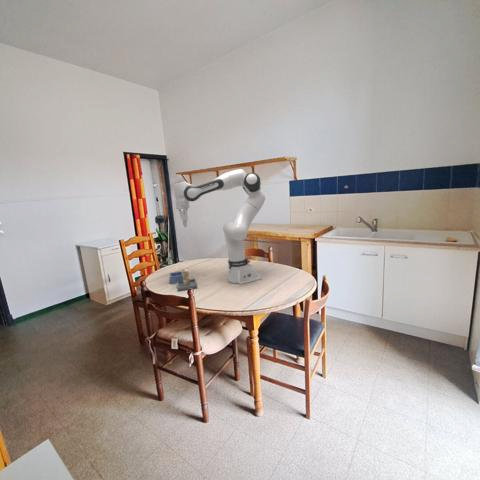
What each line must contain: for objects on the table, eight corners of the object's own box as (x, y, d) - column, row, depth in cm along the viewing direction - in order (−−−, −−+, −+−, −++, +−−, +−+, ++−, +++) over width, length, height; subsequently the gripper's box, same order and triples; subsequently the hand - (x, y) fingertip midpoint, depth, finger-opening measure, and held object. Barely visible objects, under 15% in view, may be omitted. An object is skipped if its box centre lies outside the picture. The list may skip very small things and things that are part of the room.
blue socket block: (183, 277, 186) (182, 271, 185) (184, 282, 178) (183, 275, 177) (170, 279, 184) (169, 273, 183) (170, 284, 176) (169, 277, 175)
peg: (189, 283, 172) (188, 269, 169) (190, 285, 168) (188, 270, 166) (183, 284, 171) (181, 270, 168) (184, 286, 167) (182, 271, 165)
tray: (195, 281, 177) (195, 278, 176) (197, 288, 165) (197, 284, 165) (177, 284, 174) (177, 281, 173) (178, 291, 162) (177, 287, 162)
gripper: (188, 206, 168) (190, 227, 171) (186, 204, 187) (188, 223, 190) (178, 207, 166) (181, 228, 169) (177, 205, 185) (179, 224, 188)
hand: (185, 225), depth 180 cm, fingers open, 8 cm apart
